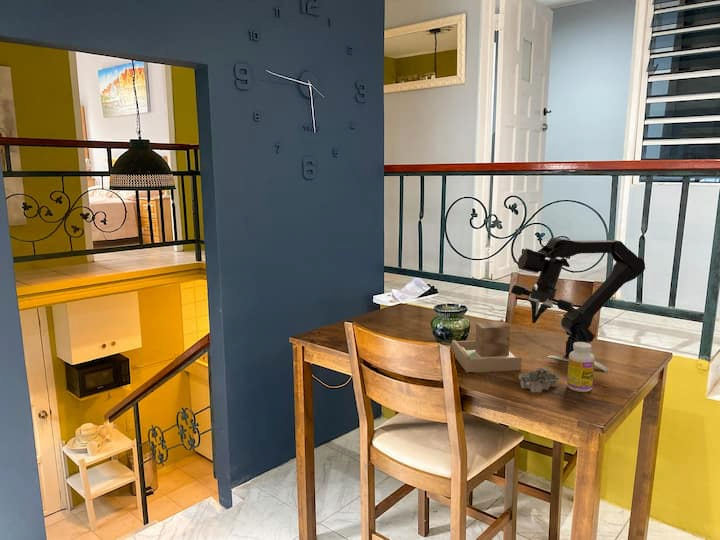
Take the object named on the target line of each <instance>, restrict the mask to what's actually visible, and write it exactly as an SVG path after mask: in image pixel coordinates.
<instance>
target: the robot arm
mask: <svg viewBox="0 0 720 540" xmlns="http://www.w3.org/2000/svg"><path fill="white" fill-rule="evenodd" d="M580 254H610V256H611V257H612V259H613V261H615V264H614V265H613V266H612V271H611V274H610V275H609V276H608V277H607V278H606V280H604V281H603V282H602V283H601V284H600V285H599V287H597V288H596V290H595V291H594V292H593V293H592V294H591V295H590V296H589V297H588V298H587V300H586V301H585V302H584V303H583V304H581V306H579V307H577V308H575V307H574V303H573V301H571V300H568V299H564V298H559V299H557V298H556V294H557V288H556V287H557V284H558V280H559V277H560V275H561V272H562V269H563V267H566V268H570V265H571V264H569V262H568V259H567V258H569V257H574V256H576V255H580ZM547 258H548V259H547ZM559 258H560V259H559ZM517 268H518V270H521V271H526V272H530V273H534V274H538V273H539V276H538V279H537V281H536V282H535V284H534V285H533V286H532V288H531V290H530V289H529V287H527V286H524V285H521V284H514V285H513V286H512V287H511V291H510V293H511V294H513V295H517V296H521V295H523V296H527V297H528V298H527V302H529V303H530V305H531V322H532V324H536V323H537V321H539V320H540V318H541V316H542V315H543V314H544V312H546V311H547V310H548V309H552V308H554V306H557V307H558V309H559V310H560V311H564V312H566V313H564V314H562V319H561V328H562V329H563V330H564V331H565V334H566V335H567V336H568V337H567V340H566V341H565V354H564V357H566V358H569V354H570V353H571V352H572V351H574V349H573V344H574V343H575V342H585V343H589V344H591V342H593V341H594V338H595V334H594V333H593V332H592V331H591V330H590V327H591V326H592V323H593V319H594V317H595V315H596V314H597V313H598V312H599V311H600V310H601V309H602V308H603V307H604V306H605V305H606V304H607V303H608V302H609V300H611V298H612V297H613V296H614V295H615V294H616V293H617V292H618V291H619V290H620V289H621V288H622V287H623V285H625V284H626V283H629V282H631V281H633V280H635V279H637V278H638V277H639V276H640V275H642V274H643V273H644V272H645V270H646V264H645V261H644V259H643V258H641V257H638V256H637V255H636V254H635V252H633V251H632V250H631V249H629V248H628V247H627V246H626V245H625V244H624V243H623V241H621V240H617V239H608V240H605V239H603V240H600V239H599V240H573V239H567V238H562V237H552V238H550V239H549V240H548V241H547V242H546V244H545V245H544V246H543V247H541V248H540V249H538V251H535V250H533V249H530V248H525V249H524V251H523V252H522V253H521V255H520V256H519V258H518V261H517ZM541 302H542V303H541Z"/></svg>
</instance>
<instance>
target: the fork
mask: <svg viewBox="0 0 720 540" xmlns="http://www.w3.org/2000/svg"><path fill="white" fill-rule="evenodd" d="M547 357H548V358H549V359H552V360H553V359H554V360H559V361H564V362H568V363H569V358H564V357H561V356H557V355H548V356H547ZM595 366H596V367H597V368H599V369H600V370H602V371H604V372H605V373H607V371H608V372H609V370H610V369H608V367H606V366H604V365H603V364H601V363H599V361H595V360H594V367H595Z"/></svg>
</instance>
